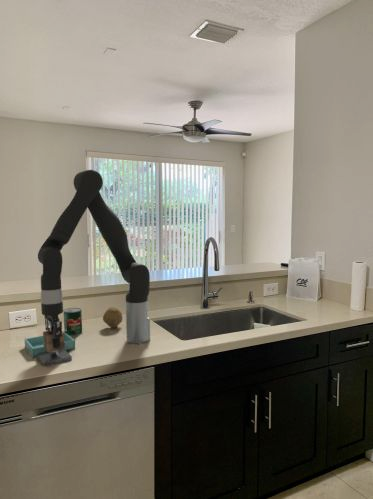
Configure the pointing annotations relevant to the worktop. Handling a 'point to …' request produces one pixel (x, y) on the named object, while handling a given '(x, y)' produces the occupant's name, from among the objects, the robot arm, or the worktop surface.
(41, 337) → the teal tray
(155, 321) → the worktop surface
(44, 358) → the gauge pin stand
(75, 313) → the canned tomato
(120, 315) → the natural sponge
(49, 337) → the hollow wooden cube
